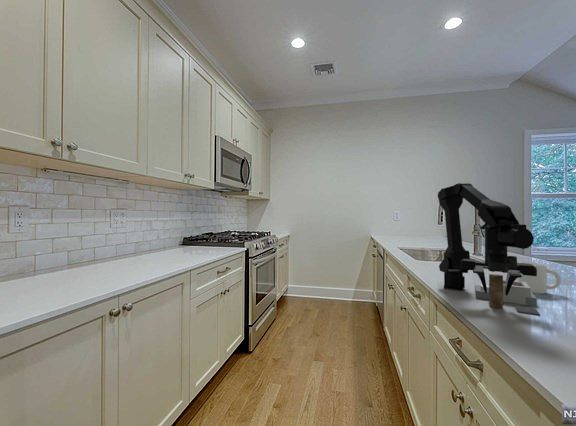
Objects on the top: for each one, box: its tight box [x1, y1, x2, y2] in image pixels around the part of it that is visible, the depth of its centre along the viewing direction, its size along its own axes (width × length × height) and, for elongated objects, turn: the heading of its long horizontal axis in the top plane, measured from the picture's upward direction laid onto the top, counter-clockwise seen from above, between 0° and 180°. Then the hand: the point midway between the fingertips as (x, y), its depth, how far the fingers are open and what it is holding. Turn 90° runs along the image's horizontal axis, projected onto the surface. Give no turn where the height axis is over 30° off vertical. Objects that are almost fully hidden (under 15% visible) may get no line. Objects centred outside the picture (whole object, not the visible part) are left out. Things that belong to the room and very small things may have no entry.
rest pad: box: [514, 305, 541, 317], centre depth 83 cm, size 5×5×1 cm
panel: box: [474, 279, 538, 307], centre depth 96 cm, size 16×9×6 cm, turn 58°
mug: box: [517, 261, 562, 295], centre depth 103 cm, size 12×8×10 cm
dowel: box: [488, 273, 504, 310], centre depth 87 cm, size 4×4×10 cm
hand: (495, 294), depth 87 cm, fingers open, 5 cm apart
